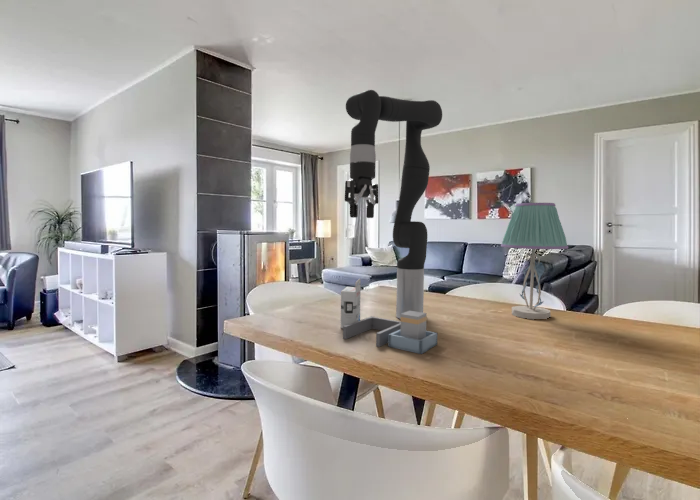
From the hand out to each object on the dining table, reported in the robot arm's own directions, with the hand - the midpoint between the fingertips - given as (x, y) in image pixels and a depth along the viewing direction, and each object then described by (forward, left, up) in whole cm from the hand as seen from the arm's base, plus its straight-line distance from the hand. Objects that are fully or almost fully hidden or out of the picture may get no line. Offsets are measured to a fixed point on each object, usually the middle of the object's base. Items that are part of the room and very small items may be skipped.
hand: (362, 217), depth 112 cm
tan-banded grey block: (+3, +19, -34) cm, 39 cm away
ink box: (-3, -6, -34) cm, 35 cm away
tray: (+3, +19, -34) cm, 39 cm away
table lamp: (-54, +37, -34) cm, 74 cm away
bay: (+3, +7, -34) cm, 35 cm away
